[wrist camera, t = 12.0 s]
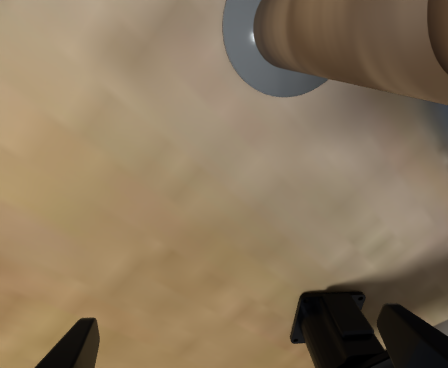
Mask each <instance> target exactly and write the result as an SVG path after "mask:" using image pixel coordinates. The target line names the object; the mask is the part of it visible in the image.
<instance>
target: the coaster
mask: <svg viewBox="0 0 448 368" xmlns="http://www.w3.org/2000/svg"><path fill="white" fill-rule="evenodd" d="M260 1H261V0H226V3H225V7H224V12H223V21H222V32H223V41H224V45H225V49H226V53H227V55H228V58H229V60H230V62H231V64H232V66H233V68H234V69H235V71H236V72H237V74H238V75H239V76H240V77H241V78H242V79H243V80H244V81H245V82H246V83H247V84H248V85H250V86H251V87H253V88H254V89H256V90H258V91H260V92H262V93H264V94H267V95H271V96H276V97H293V96H298V95H301V94H305V93H307V92H309V91H312V90H314V89H315V88H317V87H319V86H320V85H321V84H323V83H324V82H325V81H327V80H328V79H327V78H322V77H318V76H313V75H309V74H304V73H299V72H295V71H290V70H286V69H281V68H278V67H275V66H273V65H271V64H270V63H268V62H267V61H266V60H265V59H264V58H263V57H262V55H261V54H260V53H259V51H258V49H257V46H256V44H255V40H254V34H253V23H254V17H255V13H256V10H257V7H258V5H259V3H260Z"/></svg>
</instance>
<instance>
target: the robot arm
mask: <svg viewBox="0 0 448 368" xmlns="http://www.w3.org/2000/svg"><path fill="white" fill-rule="evenodd" d="M365 298H366V297H365V295H364V294H363V292H337V293H312V294H303V295H301V296H300V298H299V302H298V306H297V310H296V314H295V318H294V322H293V327H292V331H291V335H290V340H291V342H292V343H293V344H298V343H306V346H307V348H308V351H309V353H310V356H311V358H312V361H313V363H314V366H315V368H448V336H446V335H445V334H443V333H442V332H440V331H439V330H437V329H436V328H434V327H433V326H431V325H430V324H428V323H427V322H425V321H424V320H422V319H421V318H419V317H418V316H416V315H415V314H413V313H412V312H410V311H409V310H407V309H406V308H404V307H403V306H401V305H400V304H397V303H387V304H384V305H383V307H382V309H381V312H380V314H379V317H378V319H377V327H378V330H379V333H380V335H381V337H382V340H383V342H384V344H385V346H386V349H387V350H384V348H383V347H382V345H381V344H380V342H379V340H378V339H377V337H376V336H375V334H374V330H373V328H372V327H371V325H370V324H369V322H368V321H367V319H366V318H365V316H364V315H363V313H362V312H361V309H362V306H363V303H364V301H365ZM99 342H100V336H99V330H98V325H97V320H96V318H81V319H80V320H78V321H77V322H76V323H75V325H74V326H73V327H72V328H71V329H70V330H69V331H68V332H67V333H66V334H65V335H64V336H63V338H62V339H61V340H60V341H59V342H58V343H57V344H56V345H55V346H54V347H53V348H52V349H51V350H50V352H49V353H48V354H47V355H46V356H45V357H44V358H43V359H42V360H41V361H40V362H39V363H38V365H37V366H36V367H35V368H95V363H96V358H97V353H98V348H99Z"/></svg>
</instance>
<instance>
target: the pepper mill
mask: <svg viewBox="0 0 448 368" xmlns="http://www.w3.org/2000/svg"><path fill="white" fill-rule="evenodd" d="M253 34H254V40H255V44H256V46H257V49H258V51H259V53H260V54H261V55H262V57H263V58H264V59H265V60H266V61H267V62H268V63H270V64H271V65H273V66H275V67H278V68H281V69H286V70H290V71H295V72H299V73H304V74H309V75H313V76H318V77H322V78H327V79H331V80H336V81H340V82H345V83H349V84H354V85H359V86H363V87H368V88H372V89H377V90H381V91H386V92H390V93H395V94H399V95H404V96H409V97H413V98H418V99H422V100H427V101H431V102H436V103H440V104H445V105H448V0H261V1H260V3H259V5H258V7H257V10H256V13H255V17H254V23H253Z"/></svg>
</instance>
